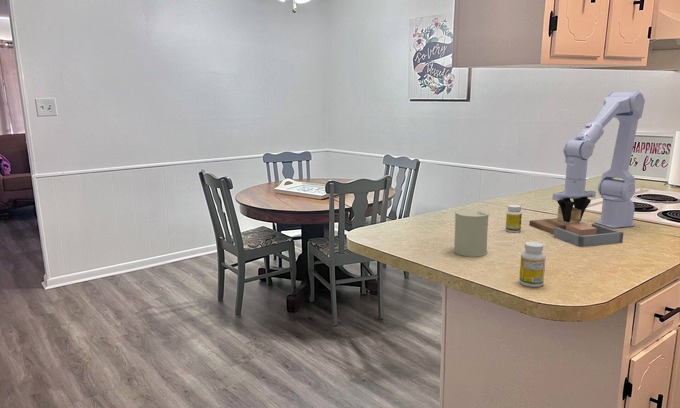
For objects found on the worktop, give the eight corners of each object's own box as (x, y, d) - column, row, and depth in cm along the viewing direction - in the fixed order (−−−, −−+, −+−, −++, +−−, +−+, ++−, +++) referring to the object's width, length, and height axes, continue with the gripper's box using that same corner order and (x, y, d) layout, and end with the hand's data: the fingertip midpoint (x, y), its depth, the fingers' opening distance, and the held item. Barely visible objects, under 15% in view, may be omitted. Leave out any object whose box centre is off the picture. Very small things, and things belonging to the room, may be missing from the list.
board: (556, 222, 171) (556, 218, 171) (586, 232, 158) (586, 227, 158) (529, 225, 168) (529, 220, 168) (557, 235, 155) (557, 230, 155)
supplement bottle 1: (521, 233, 159) (523, 207, 157) (506, 232, 160) (507, 207, 158) (519, 229, 163) (521, 204, 162) (504, 228, 164) (506, 204, 163)
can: (481, 259, 134) (483, 216, 131) (448, 253, 138) (450, 212, 136) (490, 250, 141) (493, 209, 139) (459, 245, 146) (461, 206, 144)
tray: (593, 232, 158) (594, 223, 157) (622, 242, 147) (623, 232, 146) (553, 236, 154) (554, 227, 153) (580, 247, 143) (581, 237, 142)
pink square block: (581, 231, 156) (582, 222, 156) (595, 237, 151) (597, 228, 150) (565, 232, 155) (566, 223, 154) (579, 239, 149) (580, 229, 148)
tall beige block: (566, 220, 161) (567, 205, 160) (579, 225, 156) (581, 210, 154) (556, 221, 160) (558, 206, 159) (569, 226, 155) (571, 210, 153)
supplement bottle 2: (539, 289, 112) (541, 248, 110) (515, 284, 115) (518, 244, 113) (546, 282, 116) (549, 243, 114) (524, 277, 119) (526, 239, 117)
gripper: (585, 175, 159) (581, 216, 162) (547, 178, 155) (544, 219, 158) (602, 178, 152) (598, 221, 155) (562, 181, 148) (559, 225, 151)
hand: (572, 221), depth 156 cm, fingers closed on tall beige block, 4 cm apart
